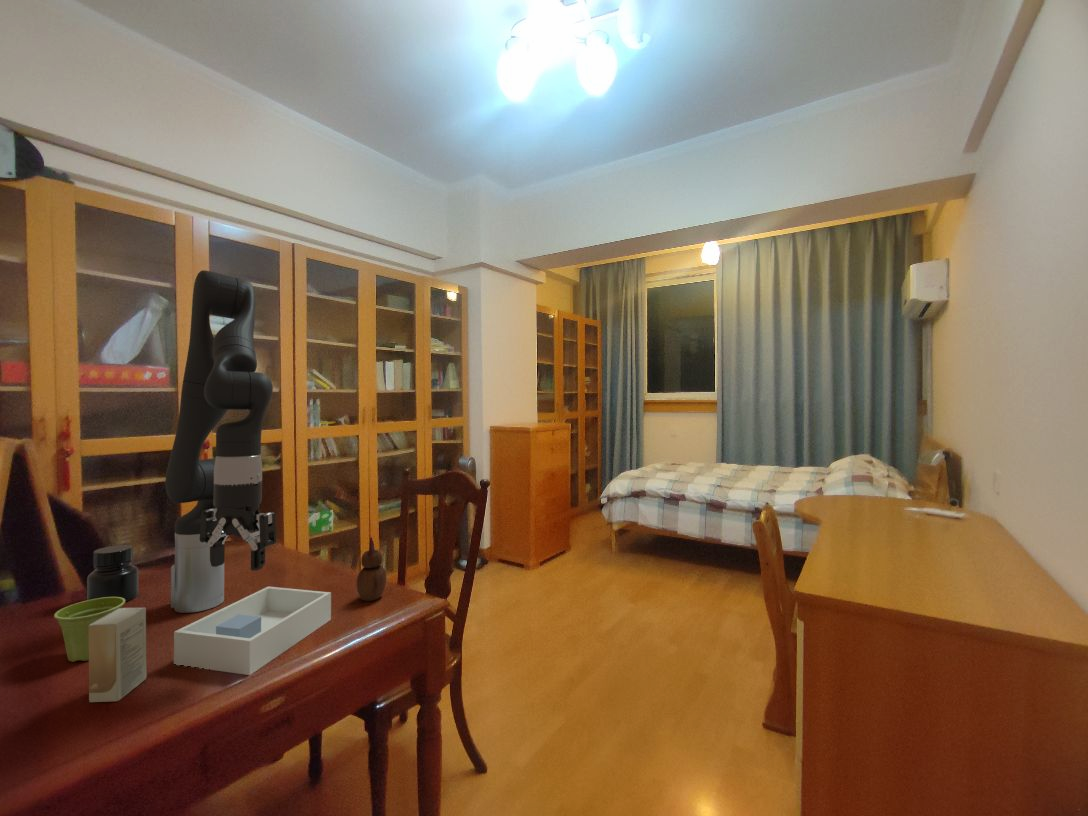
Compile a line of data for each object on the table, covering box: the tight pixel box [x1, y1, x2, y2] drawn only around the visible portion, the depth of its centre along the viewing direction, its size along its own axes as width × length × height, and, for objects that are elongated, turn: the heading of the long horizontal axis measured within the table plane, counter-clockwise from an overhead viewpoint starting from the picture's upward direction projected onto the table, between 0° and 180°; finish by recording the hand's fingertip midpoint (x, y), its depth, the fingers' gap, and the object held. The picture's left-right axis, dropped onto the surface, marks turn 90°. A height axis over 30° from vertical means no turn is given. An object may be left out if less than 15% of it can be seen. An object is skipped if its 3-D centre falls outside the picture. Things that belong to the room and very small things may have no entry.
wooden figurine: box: [356, 537, 387, 602], centre depth 113 cm, size 7×6×15 cm
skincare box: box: [88, 607, 147, 703], centre depth 76 cm, size 6×4×12 cm
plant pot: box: [53, 597, 126, 663], centre depth 87 cm, size 9×9×9 cm
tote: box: [173, 586, 332, 676], centre depth 93 cm, size 16×22×6 cm
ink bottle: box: [86, 544, 139, 603], centre depth 111 cm, size 10×9×12 cm
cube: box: [216, 615, 261, 638], centre depth 88 cm, size 5×5×5 cm
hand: (237, 567), depth 88 cm, fingers open, 8 cm apart
